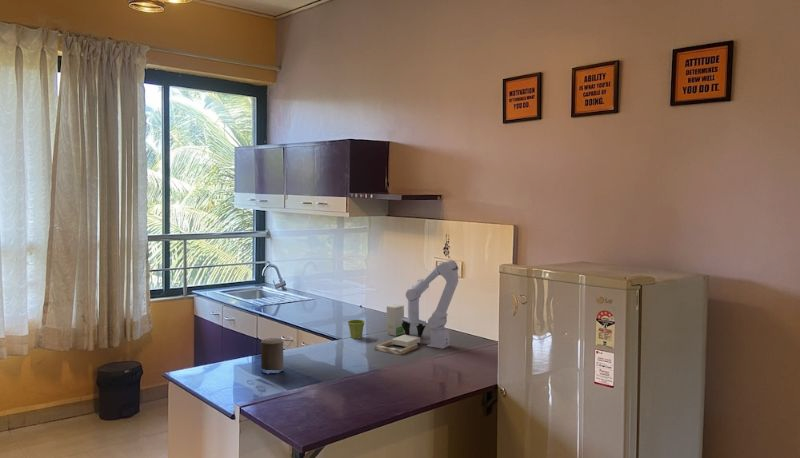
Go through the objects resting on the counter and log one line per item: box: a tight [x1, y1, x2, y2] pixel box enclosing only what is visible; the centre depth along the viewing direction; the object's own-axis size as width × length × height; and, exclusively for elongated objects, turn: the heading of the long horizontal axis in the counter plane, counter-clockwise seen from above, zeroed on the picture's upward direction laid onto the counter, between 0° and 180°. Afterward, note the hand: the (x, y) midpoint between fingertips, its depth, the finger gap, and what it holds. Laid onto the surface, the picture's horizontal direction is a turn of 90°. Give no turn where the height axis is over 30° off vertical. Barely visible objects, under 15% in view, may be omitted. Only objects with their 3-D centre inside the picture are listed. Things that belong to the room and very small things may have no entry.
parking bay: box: [374, 339, 419, 355], centre depth 294 cm, size 16×14×2 cm
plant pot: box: [347, 319, 366, 340], centre depth 317 cm, size 9×9×9 cm
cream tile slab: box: [391, 334, 421, 347], centre depth 301 cm, size 10×11×4 cm
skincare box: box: [386, 304, 405, 337], centre depth 324 cm, size 8×7×16 cm
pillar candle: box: [260, 337, 284, 370], centre depth 261 cm, size 10×10×15 cm
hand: (413, 337), depth 307 cm, fingers open, 7 cm apart
